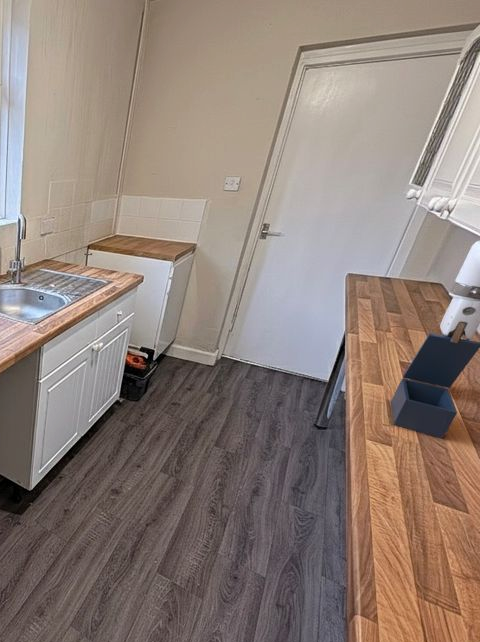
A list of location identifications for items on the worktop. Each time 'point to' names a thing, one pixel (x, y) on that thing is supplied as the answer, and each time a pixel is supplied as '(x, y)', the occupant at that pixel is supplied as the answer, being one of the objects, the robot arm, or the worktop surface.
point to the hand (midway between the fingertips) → (439, 358)
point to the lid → (441, 360)
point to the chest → (423, 408)
